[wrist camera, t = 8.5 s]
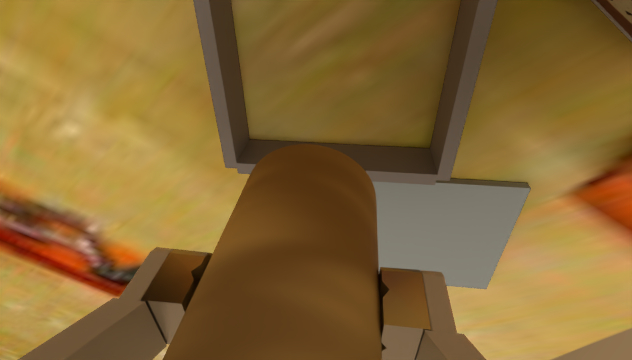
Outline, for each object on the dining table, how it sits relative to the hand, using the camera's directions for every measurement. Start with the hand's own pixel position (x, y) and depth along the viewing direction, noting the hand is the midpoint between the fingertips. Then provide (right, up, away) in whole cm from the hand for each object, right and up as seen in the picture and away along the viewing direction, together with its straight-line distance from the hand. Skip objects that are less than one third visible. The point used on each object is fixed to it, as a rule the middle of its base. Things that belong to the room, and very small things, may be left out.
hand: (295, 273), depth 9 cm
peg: (0, +2, +2) cm, 3 cm away
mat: (+12, -3, +26) cm, 29 cm away
